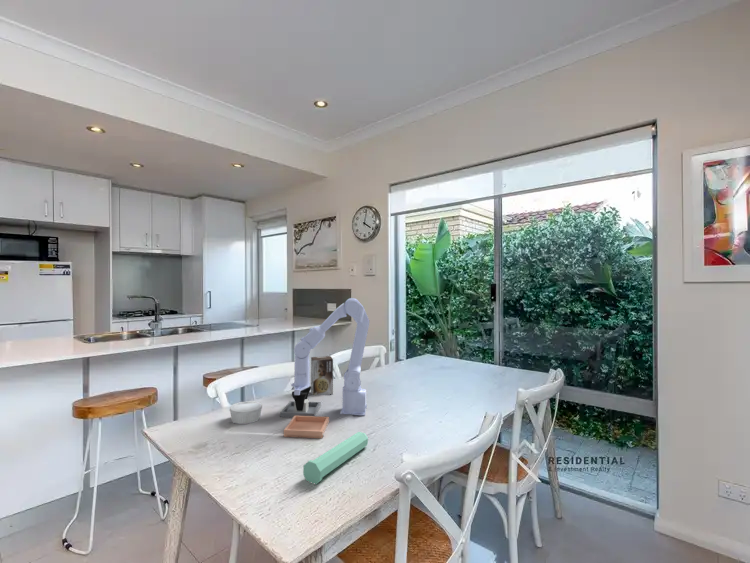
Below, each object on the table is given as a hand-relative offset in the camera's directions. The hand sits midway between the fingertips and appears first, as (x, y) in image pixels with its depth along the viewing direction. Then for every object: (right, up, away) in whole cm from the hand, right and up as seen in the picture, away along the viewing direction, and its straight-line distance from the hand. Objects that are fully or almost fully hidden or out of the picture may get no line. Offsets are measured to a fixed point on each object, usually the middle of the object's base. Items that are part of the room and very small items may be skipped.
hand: (301, 408), depth 139 cm
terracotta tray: (+5, -2, -15) cm, 16 cm away
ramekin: (-18, -2, -8) cm, 20 cm away
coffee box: (+4, -2, +24) cm, 24 cm away
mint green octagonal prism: (+18, -3, -37) cm, 41 cm away
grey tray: (0, -2, 0) cm, 2 cm away
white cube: (0, -1, 0) cm, 1 cm away
